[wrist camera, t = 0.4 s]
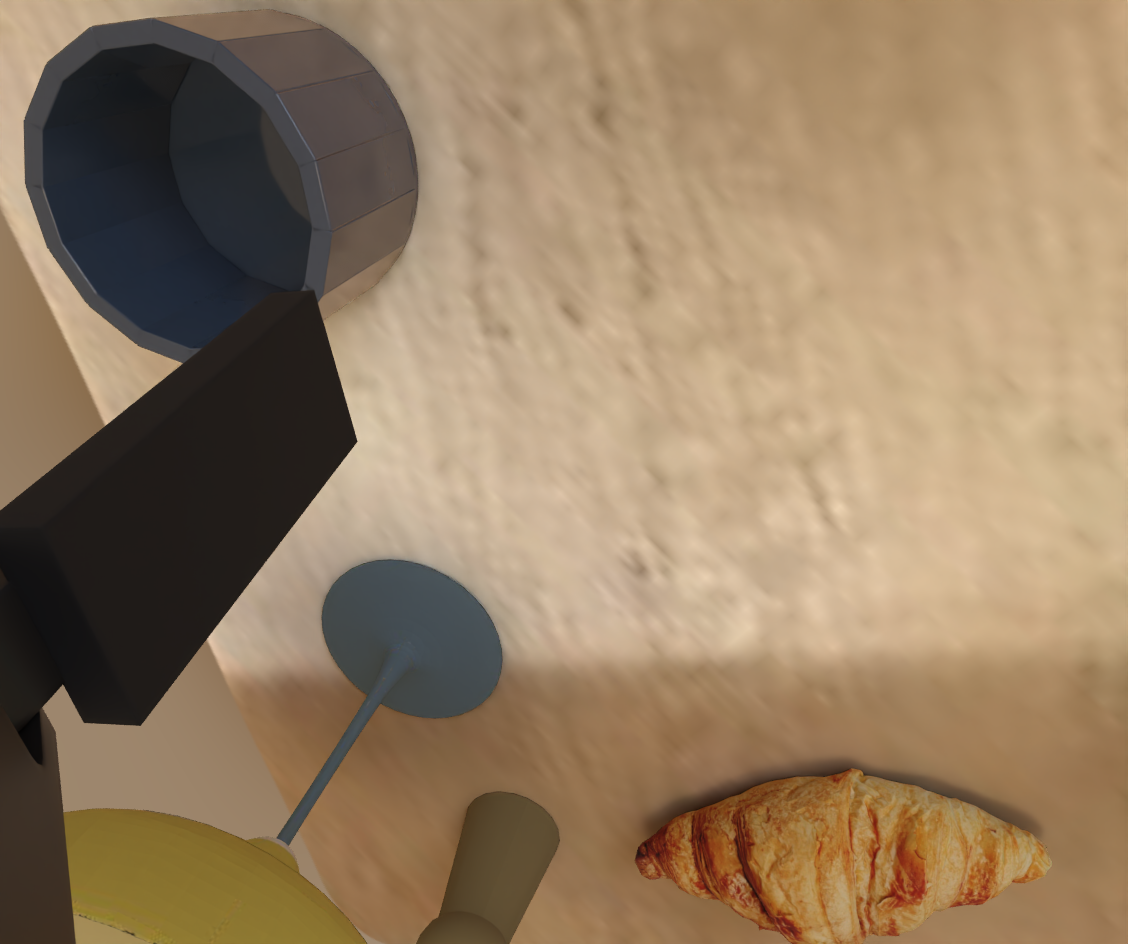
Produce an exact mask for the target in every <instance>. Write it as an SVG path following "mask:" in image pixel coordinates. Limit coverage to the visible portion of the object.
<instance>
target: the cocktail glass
mask: <svg viewBox="0 0 1128 944" xmlns="http://www.w3.org/2000/svg"><path fill="white" fill-rule="evenodd" d="M322 627H323V633H324V637H325V641H326V644H327V646H328V649H329V651H330V653H331V655H332V657H333V659H334V660H335V662H336V663H337V665H338V667H339V668H340V669H341V670H342V672H343V673H344V674H345V675H346V677H347V678H348V679H349V680H350V681H351V682H352V683H353V684H354V685H355V686H356V687H358V688H359V689H360V690H361V691H363V692H364V693H365V694H366V695H368V696H367V697H366V699H365V701H364V702H363V704H362V706H361V707H360V709H359V710H358V712H357V714H356V715H355V717H354V718H353V720H352V722H351V723H350V725H349V726H348V728H347V730H346V731H345V733H344V734H343V736H342V738H341V739H340V741H339V742H338V744H337V746H336V747H335V749H334V750H333V752H332V753H331V755H330V757H329V758H328V760H327V761H326V763H325V764H324V766H323V768H322V769H321V771H320V772H319V774H318V775H317V777H316V778H315V780H314V782H313V783H312V785H311V786H310V788H309V789H308V791H307V792H306V794H305V795H304V797H303V798H302V800H301V801H300V803H299V805H298V806H297V808H296V809H295V811H294V812H293V814H292V815H291V817H290V818H289V820H288V821H287V823H286V824H285V826H284V828H283V829H282V830H281V832H280V833H279V835H278V837H277V838H273V837H258V838H254V839H250V840H244V839H242V838H239V837H237V836H234V835H232V834H229V833H227V832H224V831H222V830H219V829H217V828H215V827H212V826H210V825H207V824H204V823H201V822H197V821H194V820H190V819H187V818H184V817H180V816H176V815H171V814H165V813H160V812H154V811H148V810H132V809H107V808H106V809H87V810H79V811H71V812H63V815H64V825H65V835H66V846H67V856H68V867H69V877H70V887H71V898H72V908H73V918H74V929H75V939H76V944H367V942H366V941H365V940H364V938H363V937H362V936H361V935H360V933H359V932H358V931H357V929H356V928H355V927H354V925H353V924H352V923H351V922H350V920H349V919H348V918H347V917H346V916H345V915H344V914H343V913H342V912H341V911H340V910H339V909H338V908H337V907H336V906H335V905H334V904H333V903H332V902H331V901H330V900H329V899H328V897H327V896H326V895H325V894H324V893H322V892H321V891H320V890H319V889H318V888H316V887H315V886H314V885H313V884H311V883H310V882H309V881H308V880H307V879H305V878H304V877H303V876H302V875H300V873H299V868H298V864H297V859H296V857H295V855H294V853H293V851H292V849H291V848H290V847H289V844H290V843H291V841H292V839H293V838H294V836H295V835H296V833H297V831H298V830H299V828H300V826H301V825H302V823H303V822H304V820H305V818H306V817H307V815H308V814H309V812H310V810H311V809H312V807H313V806H314V804H315V803H316V801H317V799H318V798H319V796H320V795H321V793H322V791H323V790H324V788H325V787H326V785H327V784H328V782H329V780H330V779H331V777H332V776H333V774H334V773H335V771H336V770H337V768H338V767H339V765H340V763H341V762H342V760H343V759H344V757H345V756H346V754H347V753H348V751H349V749H350V748H351V746H352V745H353V743H354V742H355V740H356V739H357V737H358V736H359V734H360V733H361V731H362V730H363V728H364V727H365V725H366V724H367V722H368V721H369V719H370V718H371V716H372V715H373V713H374V712H375V710H376V709H377V707H378V706H379V704H380V703H381V704H382V705H384V706H387V707H389V708H391V709H393V710H396V711H399V712H402V713H405V714H408V715H413V716H418V717H424V718H447V717H452V716H457V715H461V714H463V713H466V712H468V711H470V710H473V709H474V708H476V707H477V706H478V705H480V704H481V703H483V702H484V701H485V700H486V699H487V698H488V697H489V696H490V694H491V693H492V691H493V690H494V688H495V686H496V685H497V682H498V679H499V676H500V673H501V667H502V649H501V644H500V640H499V636H498V634H497V631H496V629H495V627H494V625H493V622H492V621H491V619H490V618H489V616H488V614H487V613H486V611H485V610H484V608H483V607H482V606H481V605H480V604H479V603H478V601H477V600H476V599H475V598H474V597H473V596H472V595H471V594H470V593H469V592H468V591H466V590H465V589H464V588H463V587H462V586H461V585H459V584H458V583H456V582H455V581H453V580H452V579H450V578H449V577H447V576H445V575H443V574H441V573H439V572H438V571H436V570H433V569H431V568H428V567H425V566H423V565H420V564H416V563H411V562H407V561H398V560H378V561H373V562H368V563H364V564H361V565H359V566H357V567H355V568H352V569H351V570H349V571H348V572H346V573H345V574H343V575H342V576H341V577H340V578H339V579H338V580H337V581H336V582H335V583H334V584H333V585H332V587H331V589H330V590H329V592H328V594H327V596H326V599H325V602H324V605H323V612H322Z"/></svg>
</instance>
